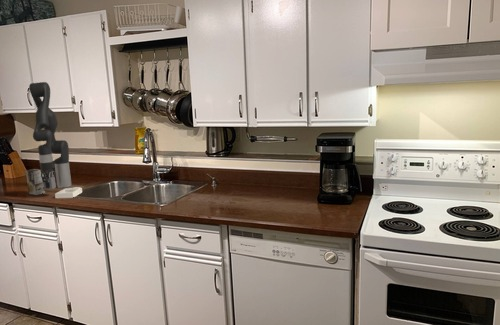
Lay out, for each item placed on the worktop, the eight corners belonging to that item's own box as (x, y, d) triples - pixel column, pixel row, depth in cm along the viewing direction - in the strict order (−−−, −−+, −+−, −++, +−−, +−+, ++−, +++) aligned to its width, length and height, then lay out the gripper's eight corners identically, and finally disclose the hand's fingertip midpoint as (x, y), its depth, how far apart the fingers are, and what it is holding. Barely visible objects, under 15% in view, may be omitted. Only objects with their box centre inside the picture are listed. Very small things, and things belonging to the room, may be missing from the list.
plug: (48, 187, 243) (46, 177, 242) (56, 187, 244) (54, 176, 242) (44, 189, 238) (42, 178, 237) (52, 189, 239) (50, 178, 237)
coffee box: (45, 193, 250) (42, 169, 248) (36, 195, 245) (32, 171, 242) (37, 191, 255) (34, 168, 252) (28, 193, 249) (25, 170, 247)
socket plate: (65, 192, 249) (65, 187, 249) (82, 192, 250) (81, 186, 249) (55, 198, 236) (54, 192, 235) (73, 197, 236) (72, 192, 235)
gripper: (45, 159, 244) (49, 184, 248) (34, 163, 230) (38, 190, 234) (57, 158, 245) (60, 183, 248) (46, 163, 231) (50, 189, 234)
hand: (50, 186), depth 241 cm, fingers closed on plug, 5 cm apart
